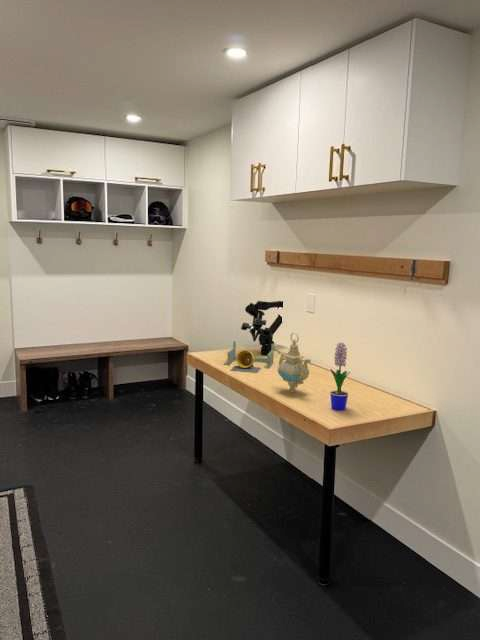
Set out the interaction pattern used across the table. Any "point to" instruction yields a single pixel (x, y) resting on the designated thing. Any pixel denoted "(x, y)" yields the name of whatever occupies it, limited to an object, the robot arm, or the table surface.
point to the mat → (246, 369)
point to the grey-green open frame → (265, 360)
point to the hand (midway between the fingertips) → (254, 341)
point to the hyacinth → (339, 379)
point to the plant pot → (245, 359)
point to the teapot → (293, 366)
